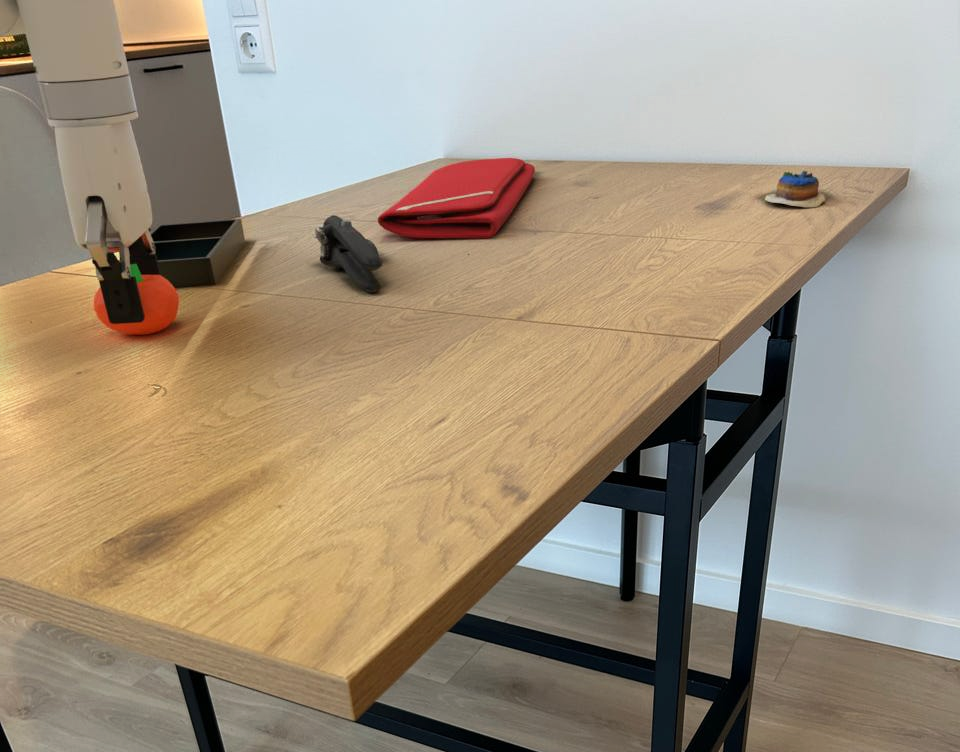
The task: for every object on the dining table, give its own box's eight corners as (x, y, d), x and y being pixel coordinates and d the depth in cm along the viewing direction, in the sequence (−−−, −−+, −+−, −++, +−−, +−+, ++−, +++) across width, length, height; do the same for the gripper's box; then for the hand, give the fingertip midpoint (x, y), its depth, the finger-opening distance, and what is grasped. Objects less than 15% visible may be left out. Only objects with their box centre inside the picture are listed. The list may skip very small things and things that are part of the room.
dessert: (821, 203, 124) (798, 160, 123) (774, 234, 128) (751, 193, 128) (835, 196, 130) (813, 154, 129) (790, 226, 134) (768, 186, 134)
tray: (121, 297, 111) (112, 265, 109) (163, 253, 129) (157, 224, 127) (216, 290, 111) (209, 257, 109) (246, 247, 129) (241, 218, 127)
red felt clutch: (537, 177, 157) (536, 150, 154) (499, 238, 123) (498, 206, 121) (439, 181, 159) (437, 155, 157) (376, 242, 126) (372, 211, 124)
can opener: (313, 264, 119) (305, 213, 116) (370, 255, 120) (364, 205, 117) (341, 300, 104) (334, 243, 101) (406, 290, 106) (400, 234, 103)
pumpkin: (100, 328, 99) (82, 260, 96) (182, 316, 101) (168, 250, 98) (102, 349, 94) (84, 278, 90) (189, 336, 96) (174, 267, 92)
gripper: (76, 93, 93) (123, 287, 103) (10, 118, 79) (72, 340, 89) (156, 89, 93) (195, 283, 103) (105, 112, 79) (156, 335, 89)
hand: (138, 308), depth 96 cm, fingers closed on pumpkin, 7 cm apart
